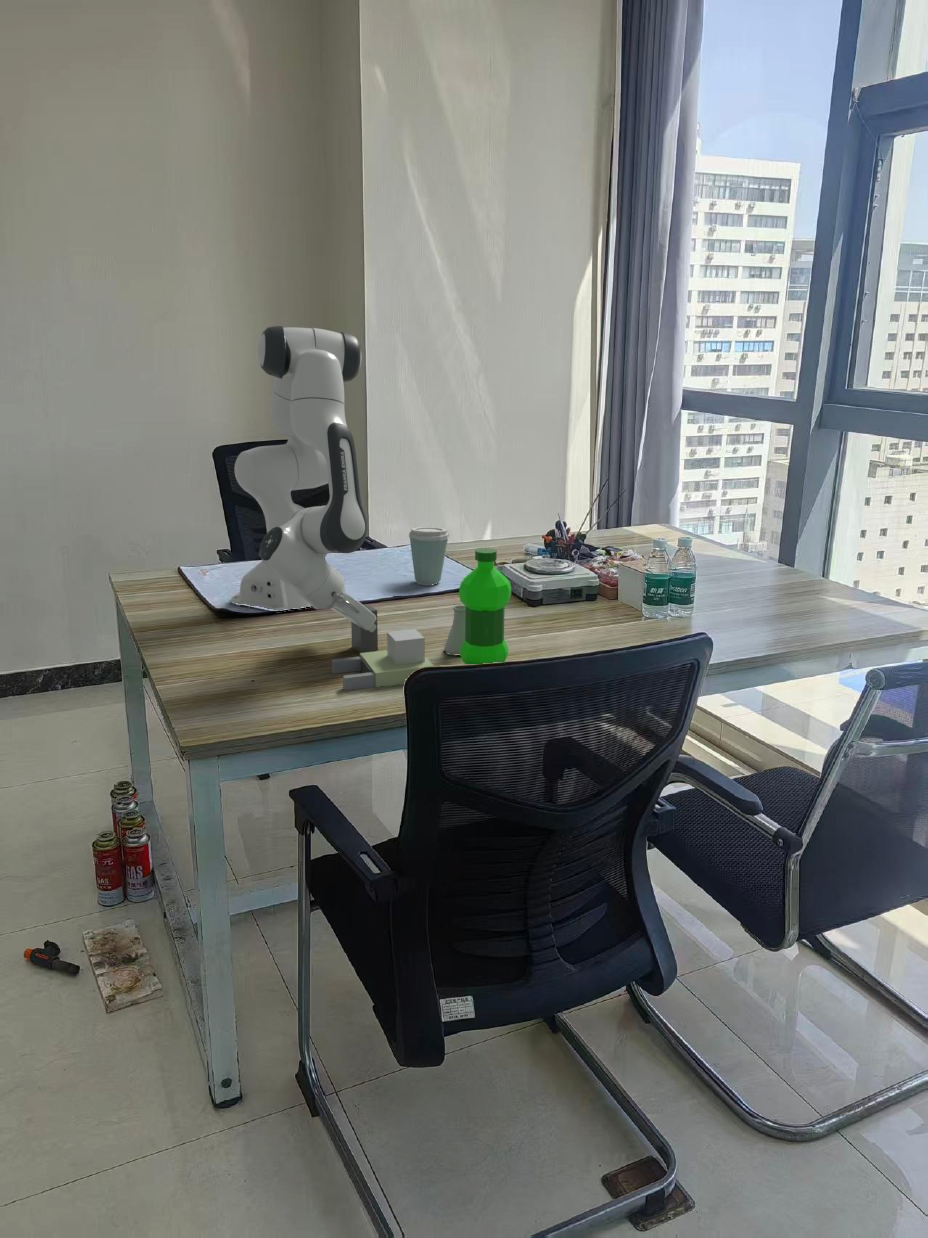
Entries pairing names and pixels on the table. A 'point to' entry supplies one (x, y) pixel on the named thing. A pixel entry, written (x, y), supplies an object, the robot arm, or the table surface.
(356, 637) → the chute block
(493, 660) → the plastic bottle
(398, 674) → the pronged platform block
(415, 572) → the disposable coffee cup
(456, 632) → the flask
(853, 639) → the table surface
